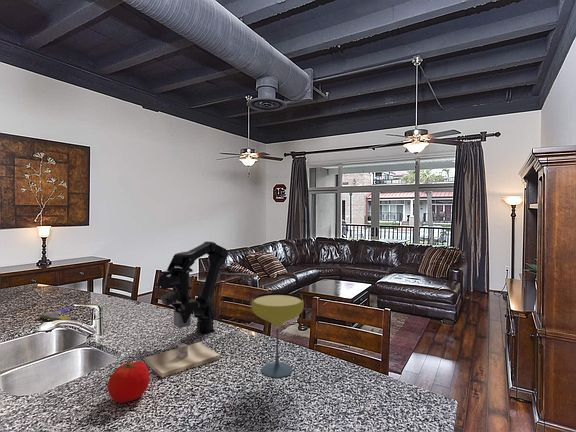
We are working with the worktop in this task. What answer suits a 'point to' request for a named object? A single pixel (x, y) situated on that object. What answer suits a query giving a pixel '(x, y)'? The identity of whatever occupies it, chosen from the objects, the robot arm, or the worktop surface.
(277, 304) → the cocktail glass
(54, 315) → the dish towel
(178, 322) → the socket
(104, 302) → the worktop surface
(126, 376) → the tomato
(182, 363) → the board
